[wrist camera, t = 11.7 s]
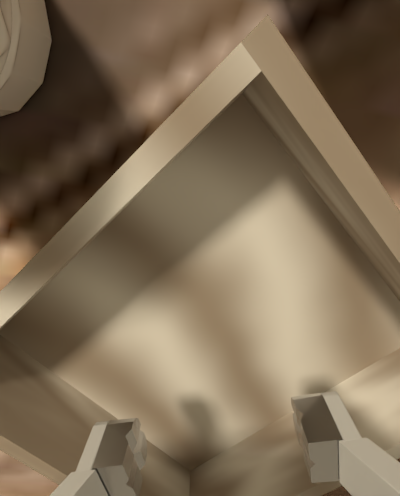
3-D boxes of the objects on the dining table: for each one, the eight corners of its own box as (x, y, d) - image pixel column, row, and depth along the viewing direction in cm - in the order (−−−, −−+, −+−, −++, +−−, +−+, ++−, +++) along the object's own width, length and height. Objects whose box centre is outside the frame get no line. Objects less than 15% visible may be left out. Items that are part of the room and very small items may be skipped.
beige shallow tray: (190, 468, 19) (186, 560, 15) (-14, 322, 15) (-97, 392, 11) (434, 325, 15) (524, 397, 11) (242, 63, 11) (267, 14, 7)
